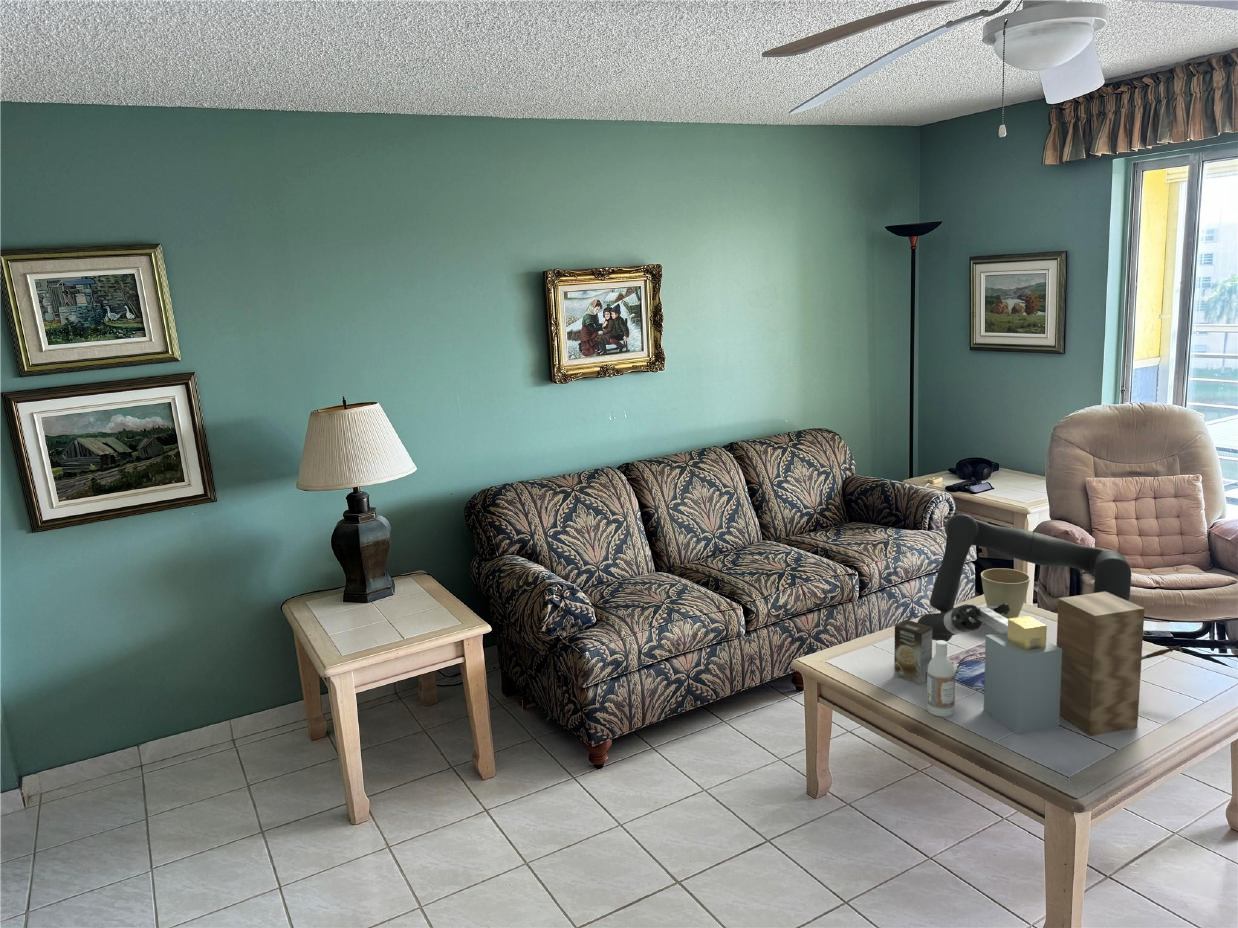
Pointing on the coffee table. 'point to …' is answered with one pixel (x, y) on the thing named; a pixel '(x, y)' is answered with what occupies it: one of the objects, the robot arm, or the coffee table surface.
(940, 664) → the bath foam
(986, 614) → the wood and metal block
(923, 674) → the coffee box
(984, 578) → the plant pot
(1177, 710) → the coffee table surface
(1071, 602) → the tall stand
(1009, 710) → the blue gray block
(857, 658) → the coffee table surface
